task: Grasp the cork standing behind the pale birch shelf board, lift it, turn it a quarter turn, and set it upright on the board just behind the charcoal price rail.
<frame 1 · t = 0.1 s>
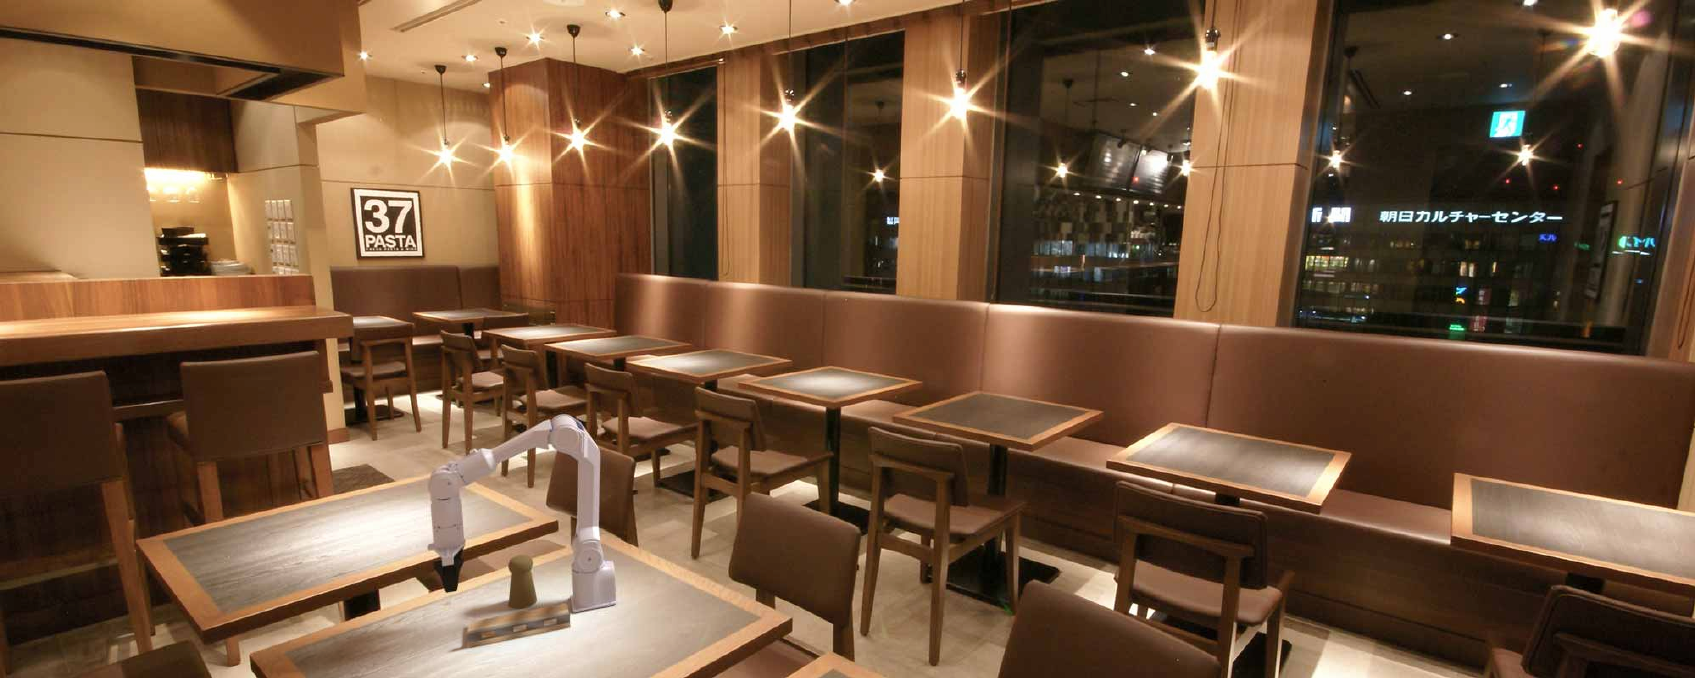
hand: (452, 583, 159), 10 cm above the table, tool pointing down, fingers open, 7 cm apart
cork: (523, 603, 171), on the table
shelf board: (519, 626, 161), on the table
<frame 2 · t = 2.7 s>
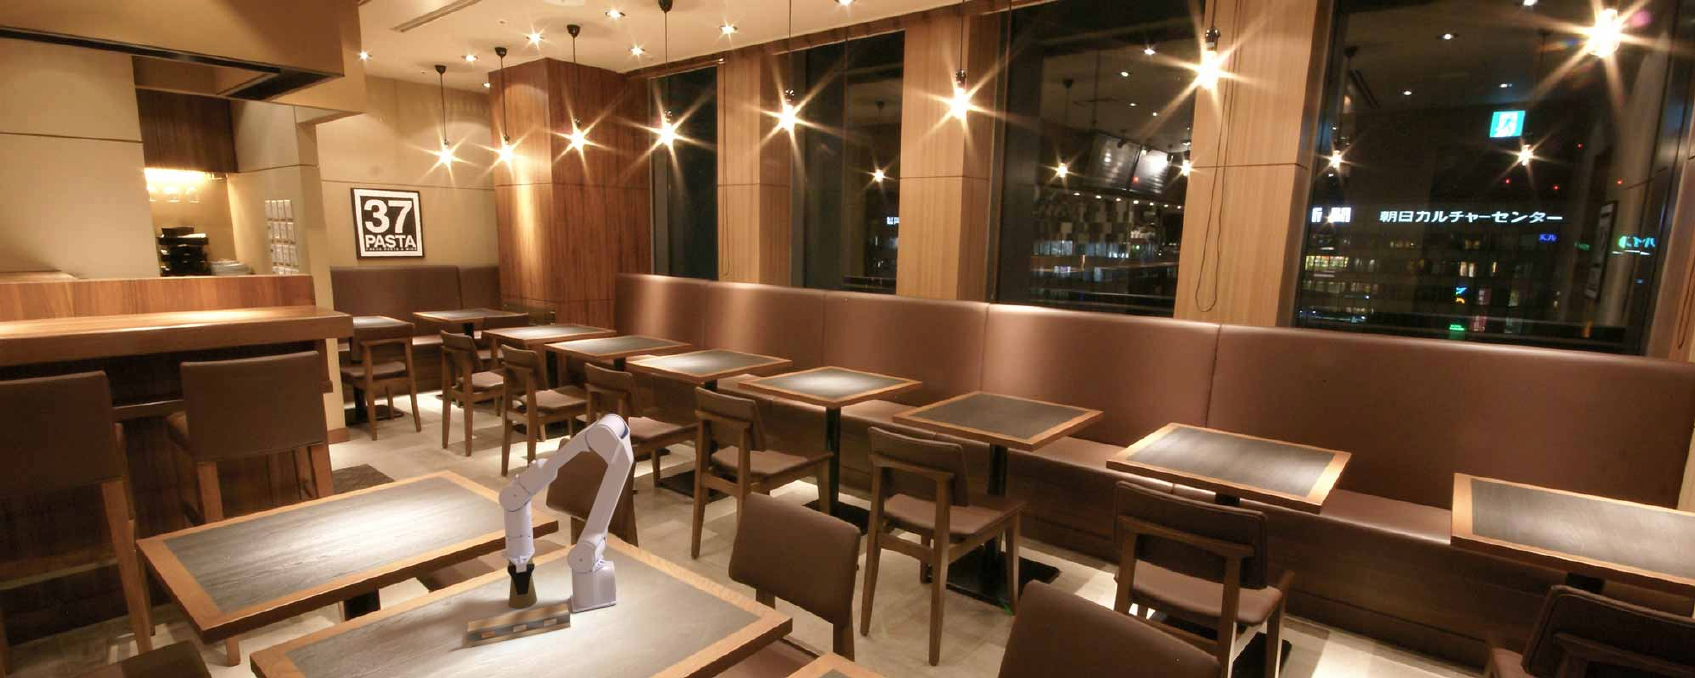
hand: (522, 588, 171), 3 cm above the table, tool pointing down, fingers closed on cork, 5 cm apart
cork: (523, 603, 171), on the table, touching gripper
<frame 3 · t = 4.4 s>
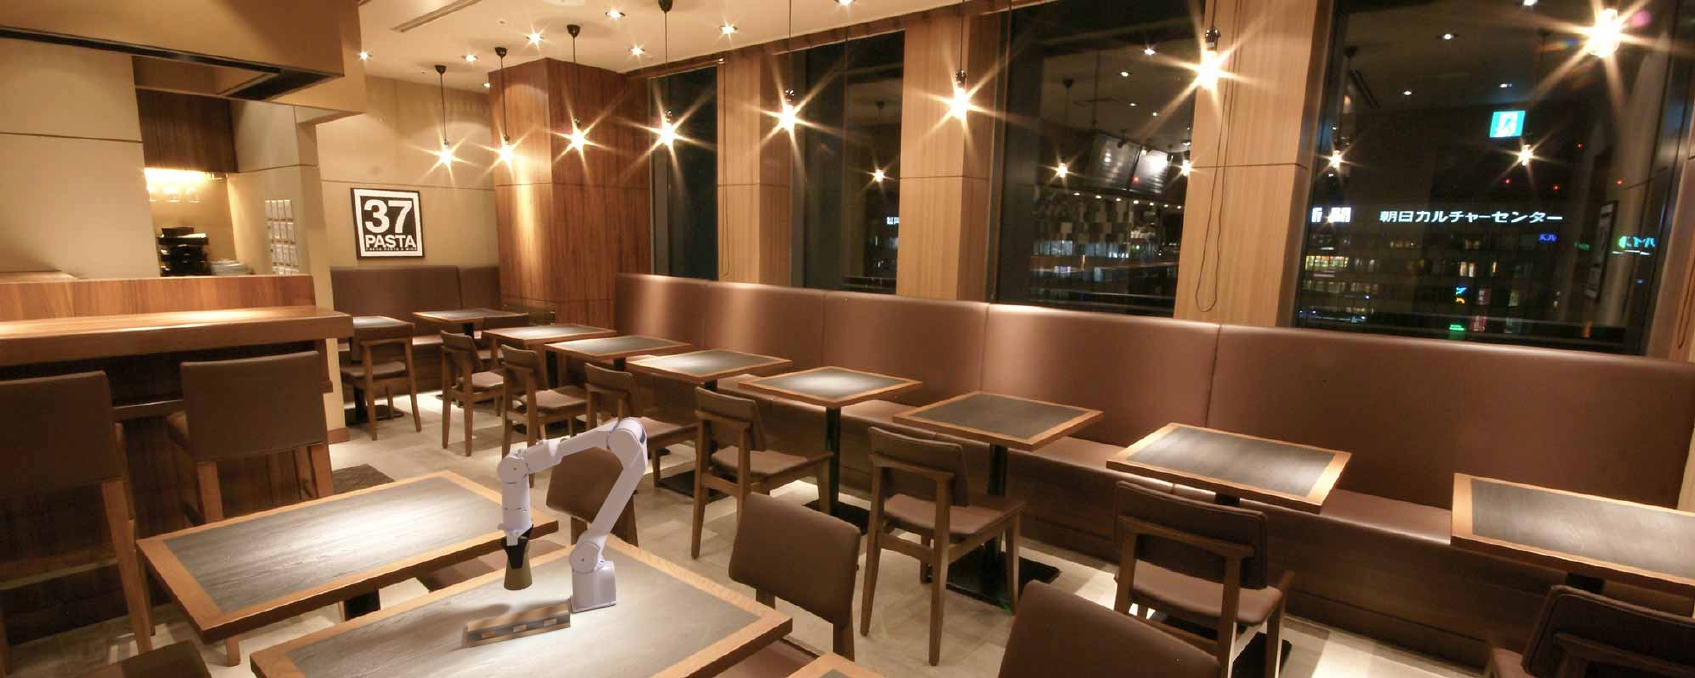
hand: (519, 562, 168), 10 cm above the table, tool pointing down, fingers closed on cork, 5 cm apart
cork: (518, 584, 169), point 5 cm above the table, touching gripper
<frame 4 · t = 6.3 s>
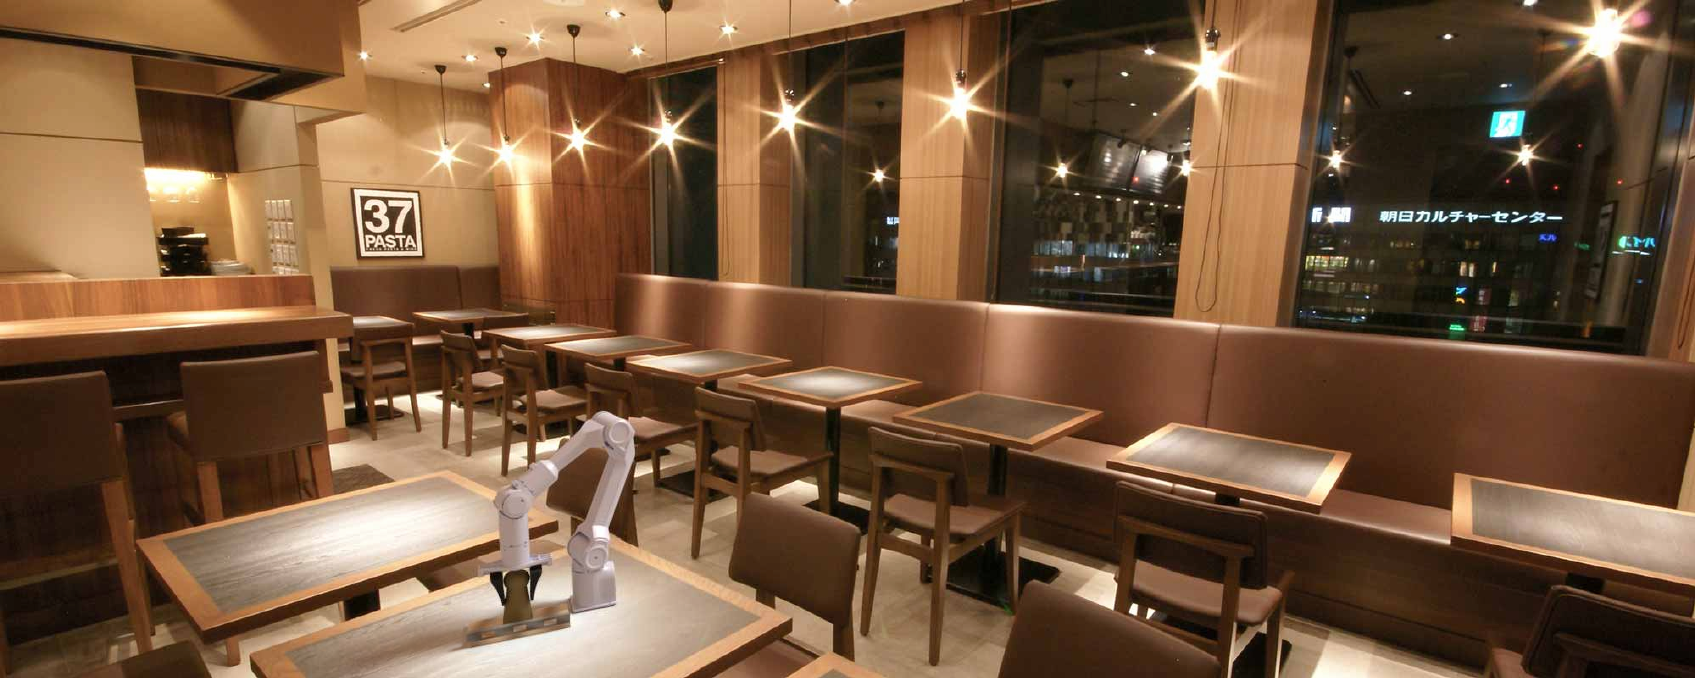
hand: (517, 601, 161), 6 cm above the table, tool pointing down, fingers closed on cork, 5 cm apart
cork: (517, 619, 162), point 1 cm above the table, touching gripper, shelf board
when the fingers open (5 cm above the table, at t = 6.9 s): cork stays where it is, resting on shelf board.
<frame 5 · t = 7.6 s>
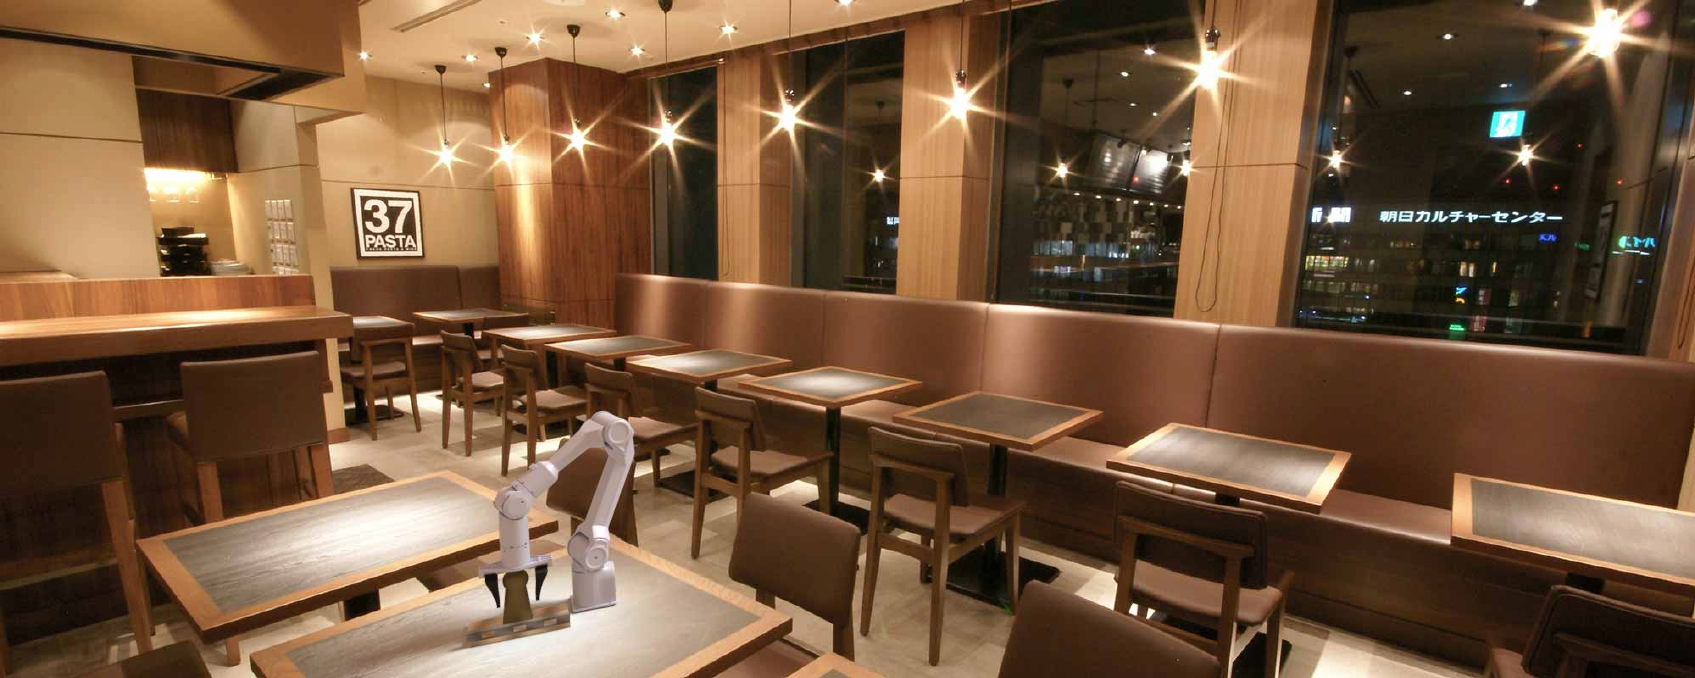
hand: (518, 602, 161), 5 cm above the table, tool pointing down, fingers open, 7 cm apart
cork: (518, 620, 162), point 1 cm above the table, touching shelf board
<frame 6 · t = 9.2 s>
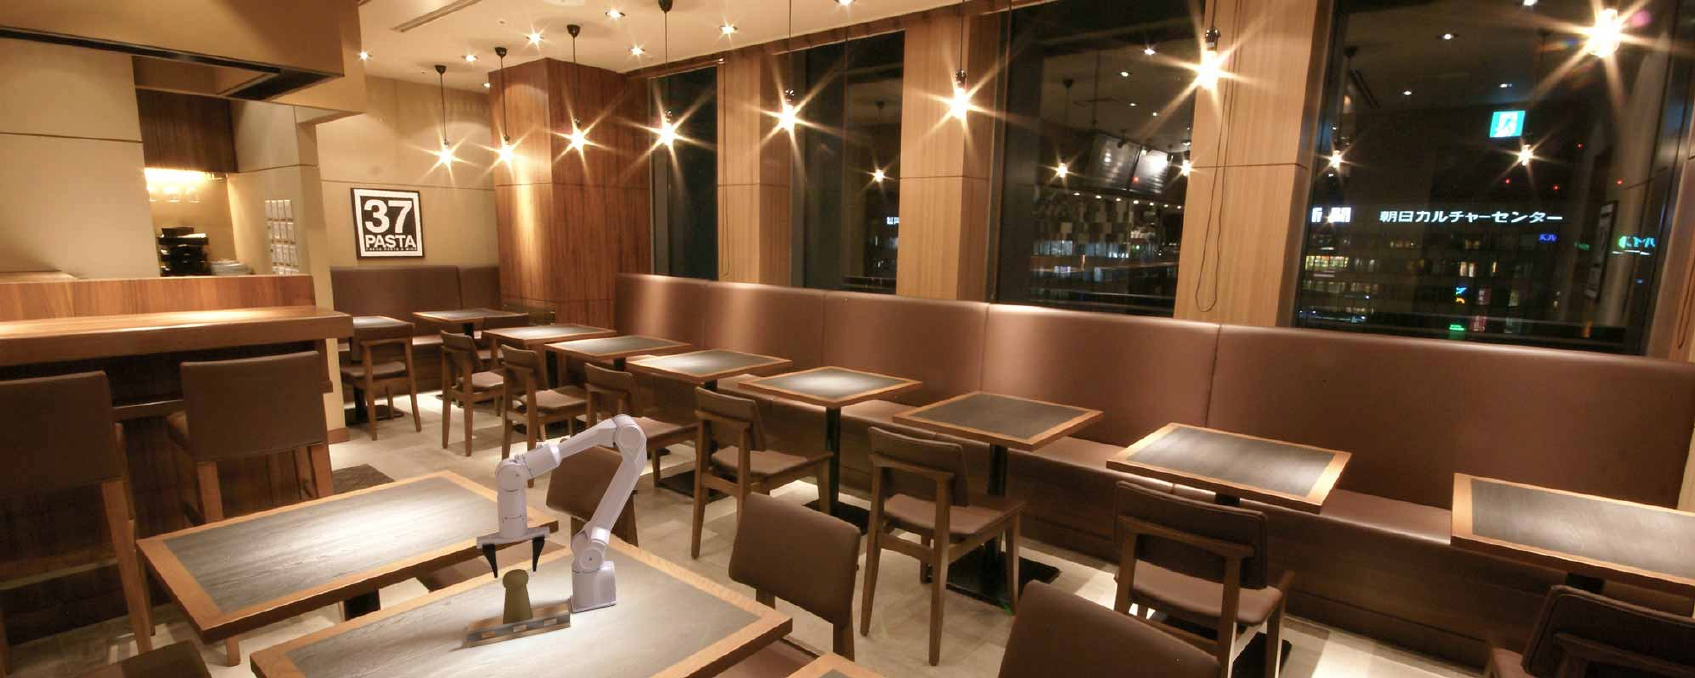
hand: (515, 572, 163), 10 cm above the table, tool pointing down, fingers open, 7 cm apart
nothing on the table moved.
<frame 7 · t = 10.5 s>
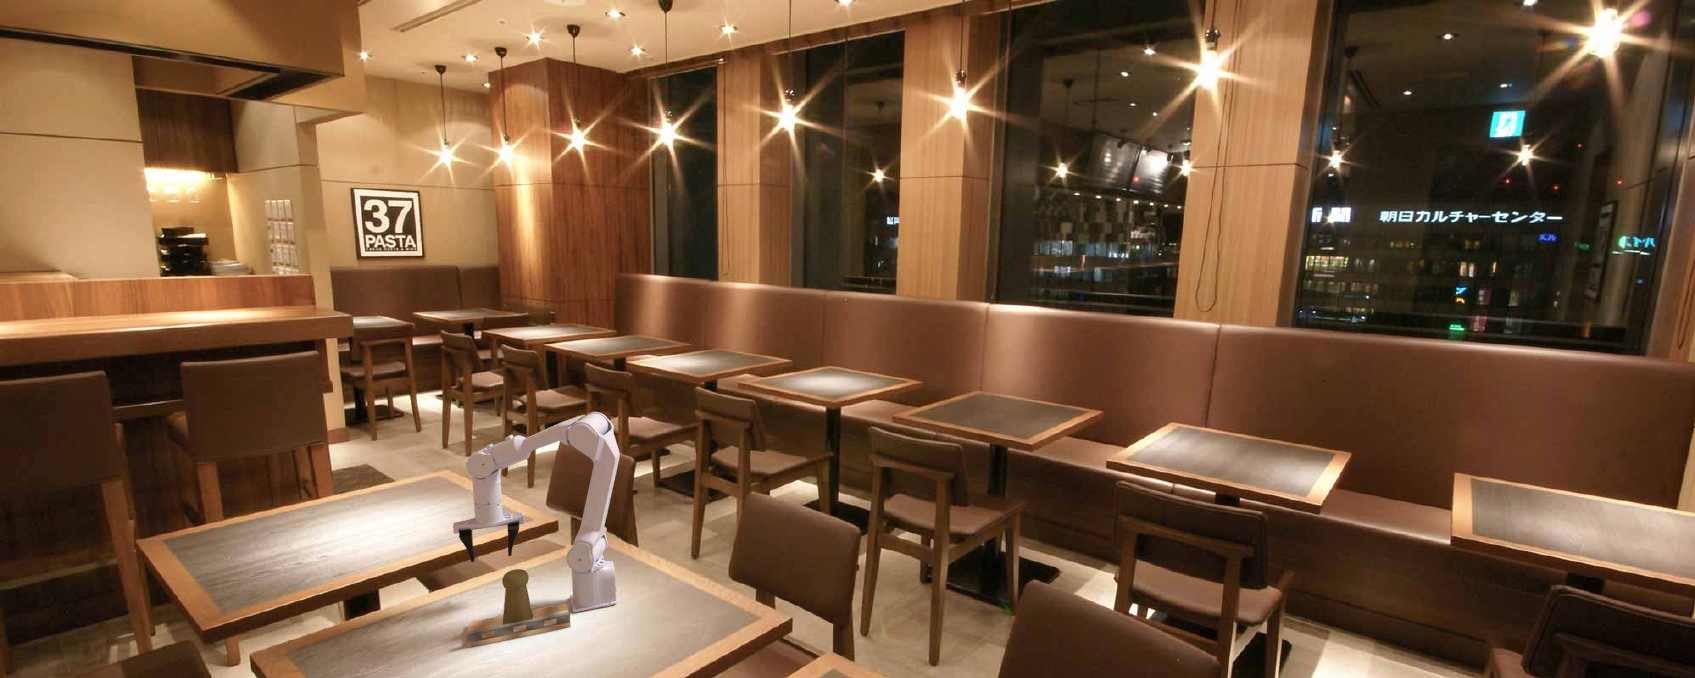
hand: (491, 557, 171), 10 cm above the table, tool pointing down, fingers open, 7 cm apart
nothing on the table moved.
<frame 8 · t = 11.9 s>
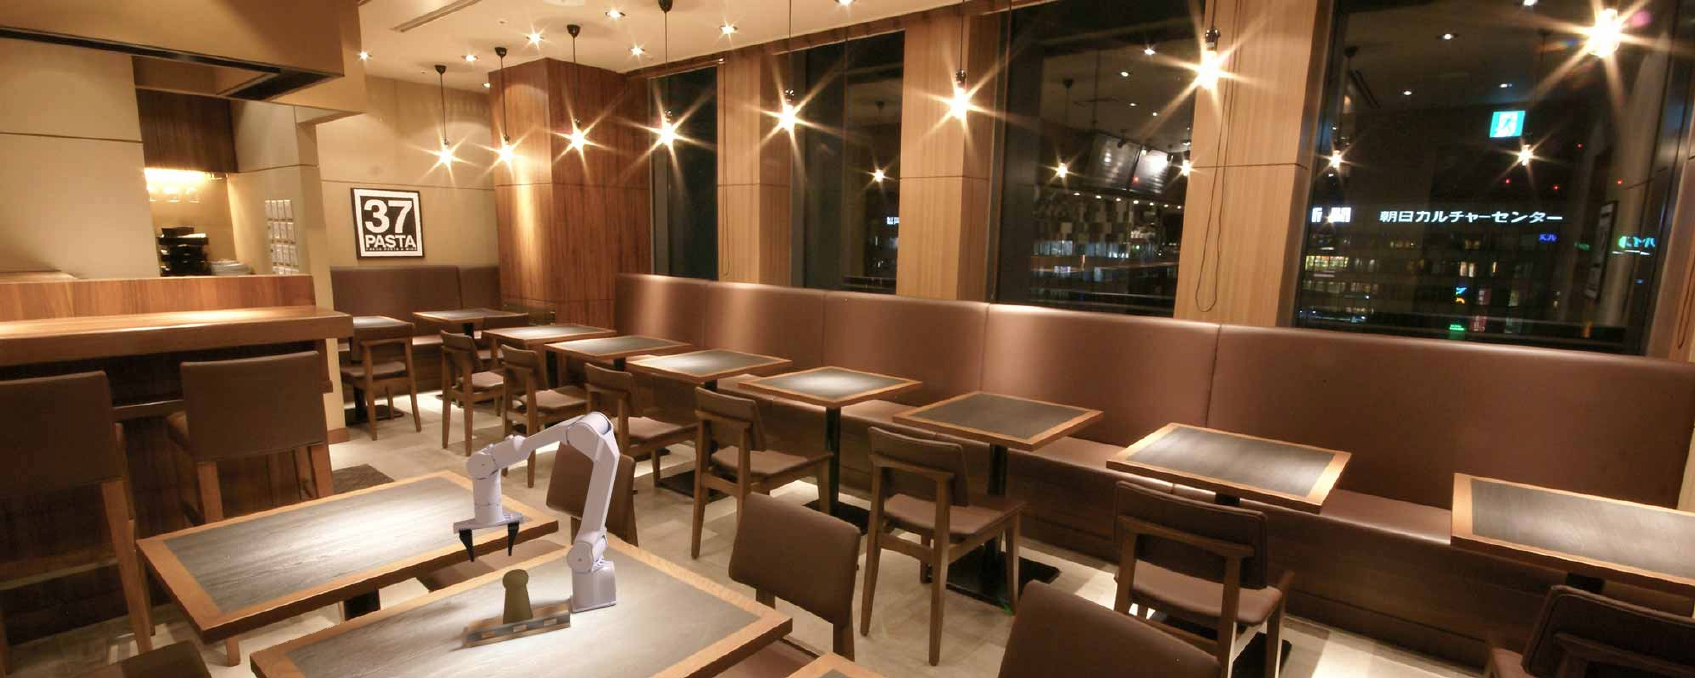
hand: (491, 557, 171), 10 cm above the table, tool pointing down, fingers open, 7 cm apart
nothing on the table moved.
at the end: cork 1.2 cm from the target spot, point 0.8 cm above the table; cork tilted 0°; cork touching shelf board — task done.
